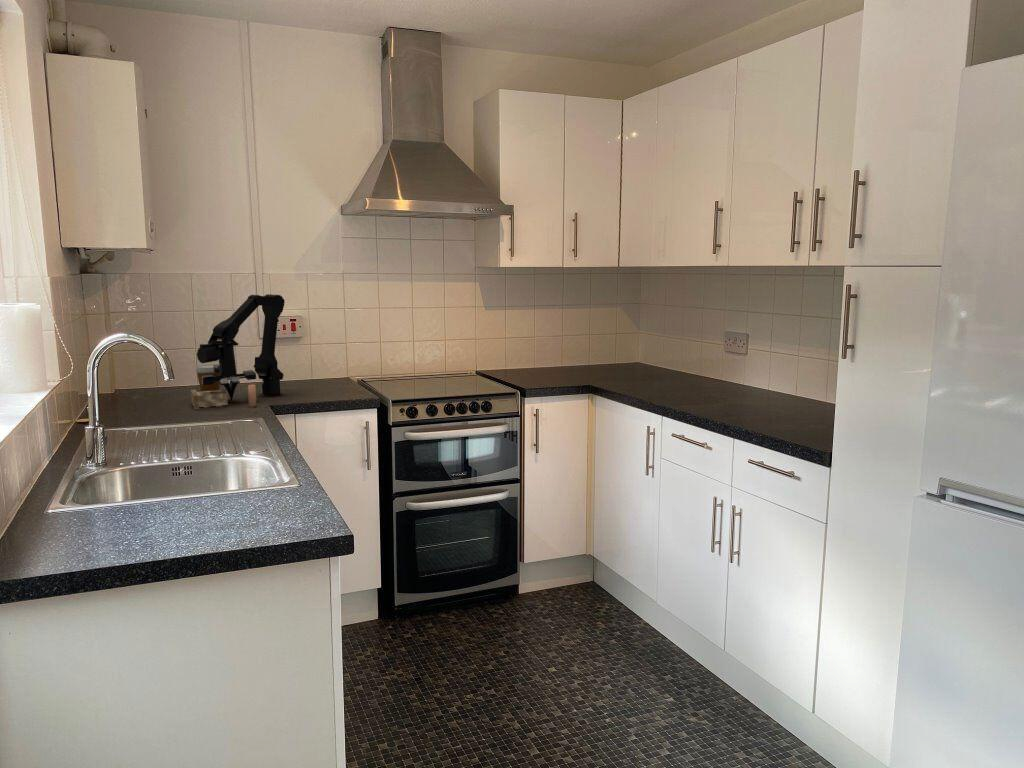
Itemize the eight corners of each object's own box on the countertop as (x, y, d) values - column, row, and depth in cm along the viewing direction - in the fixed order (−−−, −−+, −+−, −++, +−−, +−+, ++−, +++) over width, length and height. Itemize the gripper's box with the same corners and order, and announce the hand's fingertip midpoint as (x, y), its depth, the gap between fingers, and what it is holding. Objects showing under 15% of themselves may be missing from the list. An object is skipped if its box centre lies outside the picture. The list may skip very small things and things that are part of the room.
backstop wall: (196, 402, 284) (195, 389, 283) (199, 409, 272) (198, 395, 271) (191, 403, 283) (190, 389, 282) (194, 409, 272) (193, 396, 271)
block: (225, 401, 286) (224, 389, 285) (227, 405, 279) (227, 393, 278) (196, 403, 282) (195, 392, 281) (198, 407, 275) (197, 395, 274)
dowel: (256, 405, 279) (254, 384, 277) (257, 406, 277) (255, 385, 275) (248, 406, 278) (247, 384, 276) (249, 407, 275) (248, 385, 274)
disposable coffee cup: (206, 399, 289) (203, 368, 287) (192, 396, 295) (190, 366, 293) (228, 396, 297) (226, 365, 294) (214, 393, 302) (212, 363, 300)
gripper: (249, 353, 291) (254, 393, 294) (197, 359, 283) (202, 399, 286) (254, 357, 281) (258, 398, 284) (200, 362, 273) (205, 405, 276)
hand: (231, 400), depth 283 cm, fingers closed
